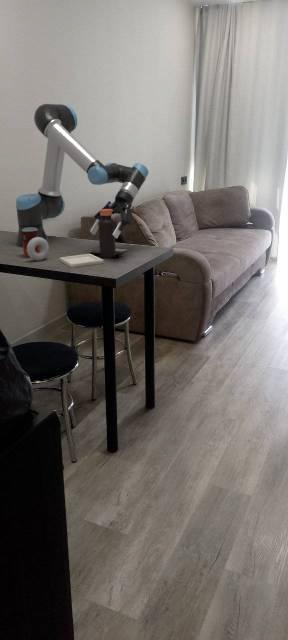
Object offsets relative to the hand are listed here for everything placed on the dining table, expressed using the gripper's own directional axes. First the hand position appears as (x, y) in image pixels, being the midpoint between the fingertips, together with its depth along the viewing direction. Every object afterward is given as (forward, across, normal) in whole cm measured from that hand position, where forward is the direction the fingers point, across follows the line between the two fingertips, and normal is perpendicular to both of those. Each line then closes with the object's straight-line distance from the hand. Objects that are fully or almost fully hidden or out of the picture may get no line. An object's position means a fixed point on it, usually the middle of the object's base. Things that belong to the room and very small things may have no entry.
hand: (103, 234), depth 214 cm
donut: (+22, -18, -8) cm, 29 cm away
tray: (+16, -1, -2) cm, 16 cm away
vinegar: (+6, 0, +9) cm, 10 cm away
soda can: (+19, -28, -5) cm, 34 cm away
